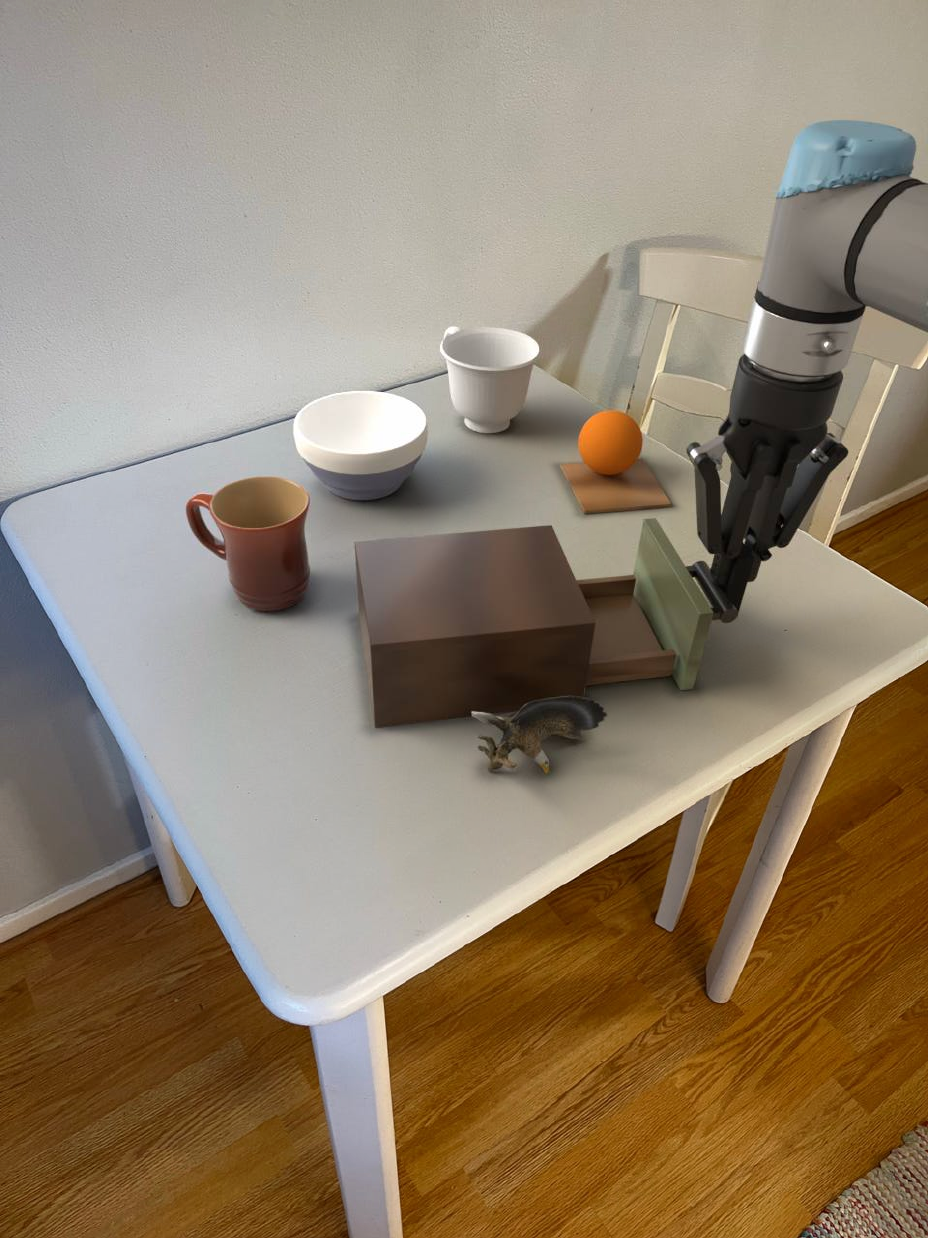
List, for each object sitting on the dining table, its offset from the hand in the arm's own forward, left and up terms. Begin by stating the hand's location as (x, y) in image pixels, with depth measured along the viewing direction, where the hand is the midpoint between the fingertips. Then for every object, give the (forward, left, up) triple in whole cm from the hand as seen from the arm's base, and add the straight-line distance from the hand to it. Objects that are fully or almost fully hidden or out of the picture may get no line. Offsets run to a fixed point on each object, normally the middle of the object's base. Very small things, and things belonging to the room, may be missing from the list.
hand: (723, 607), depth 81 cm
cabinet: (0, +24, -3) cm, 24 cm away
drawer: (0, +11, -3) cm, 12 cm away
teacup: (+44, +14, -3) cm, 46 cm away
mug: (+13, +42, -3) cm, 44 cm away
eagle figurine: (-12, +20, -3) cm, 24 cm away
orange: (+26, +2, -2) cm, 26 cm away
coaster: (+26, +2, -3) cm, 26 cm away
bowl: (+31, +30, -3) cm, 43 cm away
